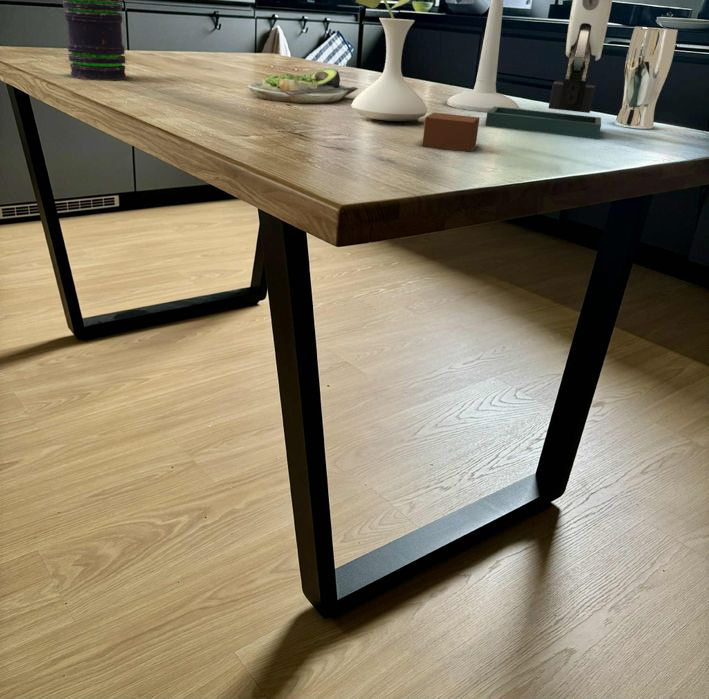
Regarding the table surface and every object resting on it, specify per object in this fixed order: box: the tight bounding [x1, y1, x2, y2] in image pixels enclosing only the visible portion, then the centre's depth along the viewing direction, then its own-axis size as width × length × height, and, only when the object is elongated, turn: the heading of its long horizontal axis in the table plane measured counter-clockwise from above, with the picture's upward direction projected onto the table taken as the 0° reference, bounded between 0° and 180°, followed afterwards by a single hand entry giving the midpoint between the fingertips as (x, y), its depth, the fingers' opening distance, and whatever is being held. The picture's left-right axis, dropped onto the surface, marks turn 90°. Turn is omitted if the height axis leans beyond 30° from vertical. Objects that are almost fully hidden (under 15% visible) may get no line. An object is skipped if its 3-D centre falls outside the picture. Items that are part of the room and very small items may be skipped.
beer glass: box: [614, 26, 679, 130], centre depth 117 cm, size 7×7×15 cm
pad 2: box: [548, 80, 596, 114], centre depth 107 cm, size 6×5×4 cm
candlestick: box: [446, 0, 520, 113], centre depth 123 cm, size 13×13×30 cm
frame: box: [484, 106, 602, 140], centre depth 110 cm, size 17×9×2 cm, turn 73°
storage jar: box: [62, 0, 127, 81], centre depth 129 cm, size 10×10×15 cm
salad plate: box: [247, 68, 359, 104], centre depth 123 cm, size 19×18×5 cm
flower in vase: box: [351, 0, 428, 122], centre depth 102 cm, size 13×11×25 cm
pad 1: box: [421, 112, 480, 152], centre depth 90 cm, size 6×5×4 cm
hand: (570, 106), depth 108 cm, fingers closed on pad 2, 5 cm apart
